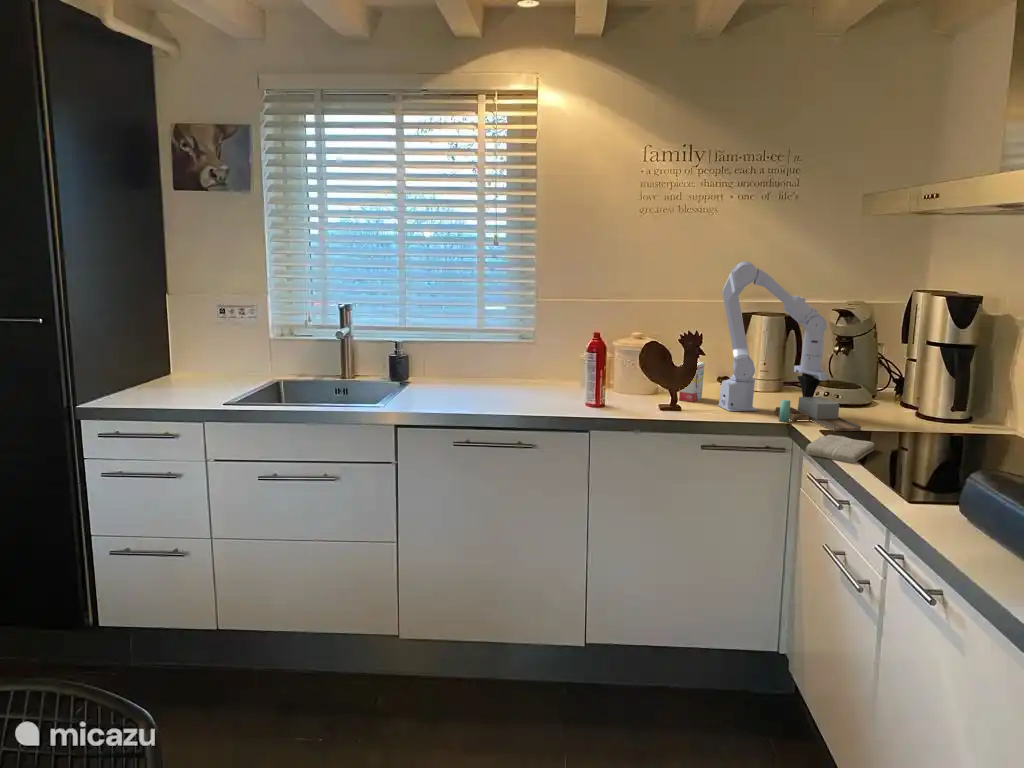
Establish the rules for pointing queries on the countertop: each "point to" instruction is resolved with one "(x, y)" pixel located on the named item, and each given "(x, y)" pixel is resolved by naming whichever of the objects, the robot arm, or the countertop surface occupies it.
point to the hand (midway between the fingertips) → (807, 400)
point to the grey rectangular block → (818, 407)
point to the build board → (794, 414)
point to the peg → (784, 411)
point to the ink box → (694, 386)
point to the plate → (837, 424)
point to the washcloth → (839, 448)
